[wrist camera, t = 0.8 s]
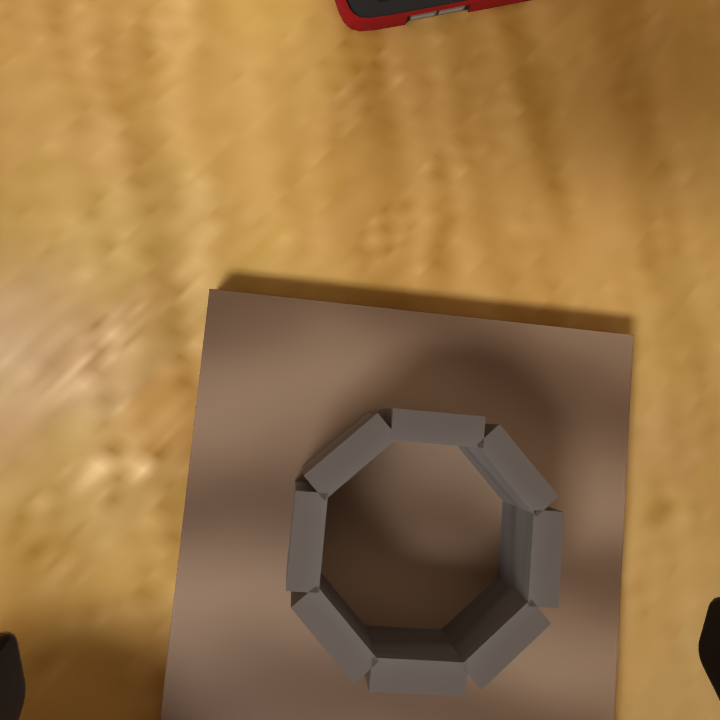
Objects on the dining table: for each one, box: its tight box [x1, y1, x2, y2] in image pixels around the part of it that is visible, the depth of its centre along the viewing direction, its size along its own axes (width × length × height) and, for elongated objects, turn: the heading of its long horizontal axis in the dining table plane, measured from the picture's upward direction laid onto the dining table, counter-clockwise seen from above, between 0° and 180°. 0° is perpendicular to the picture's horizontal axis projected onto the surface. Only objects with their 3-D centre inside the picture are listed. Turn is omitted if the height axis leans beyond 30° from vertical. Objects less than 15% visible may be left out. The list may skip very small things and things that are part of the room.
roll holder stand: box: [160, 289, 633, 720], centre depth 22 cm, size 16×16×4 cm
